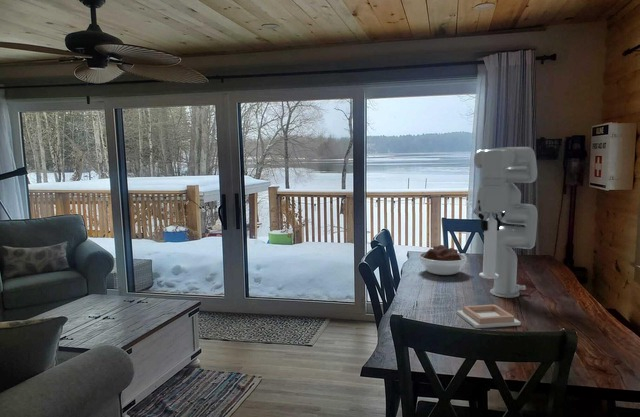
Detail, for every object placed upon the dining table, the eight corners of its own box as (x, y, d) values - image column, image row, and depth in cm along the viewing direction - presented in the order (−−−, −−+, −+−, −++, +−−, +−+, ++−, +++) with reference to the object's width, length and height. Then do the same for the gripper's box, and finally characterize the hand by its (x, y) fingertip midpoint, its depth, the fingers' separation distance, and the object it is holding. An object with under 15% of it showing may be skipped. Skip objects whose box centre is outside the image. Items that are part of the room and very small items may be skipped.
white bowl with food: (476, 276, 239) (477, 248, 237) (436, 281, 229) (437, 252, 228) (446, 265, 262) (447, 240, 260) (409, 270, 253) (410, 243, 251)
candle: (494, 273, 179) (496, 211, 176) (501, 278, 172) (504, 213, 169) (476, 274, 179) (478, 211, 176) (483, 278, 172) (485, 213, 169)
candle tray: (497, 310, 186) (498, 303, 185) (520, 325, 170) (520, 317, 170) (456, 313, 183) (456, 305, 183) (475, 328, 168) (476, 319, 167)
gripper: (507, 181, 176) (505, 228, 178) (466, 182, 173) (465, 229, 176) (518, 182, 168) (516, 231, 170) (476, 183, 166) (474, 232, 168)
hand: (490, 229), depth 173 cm, fingers closed on candle, 4 cm apart
